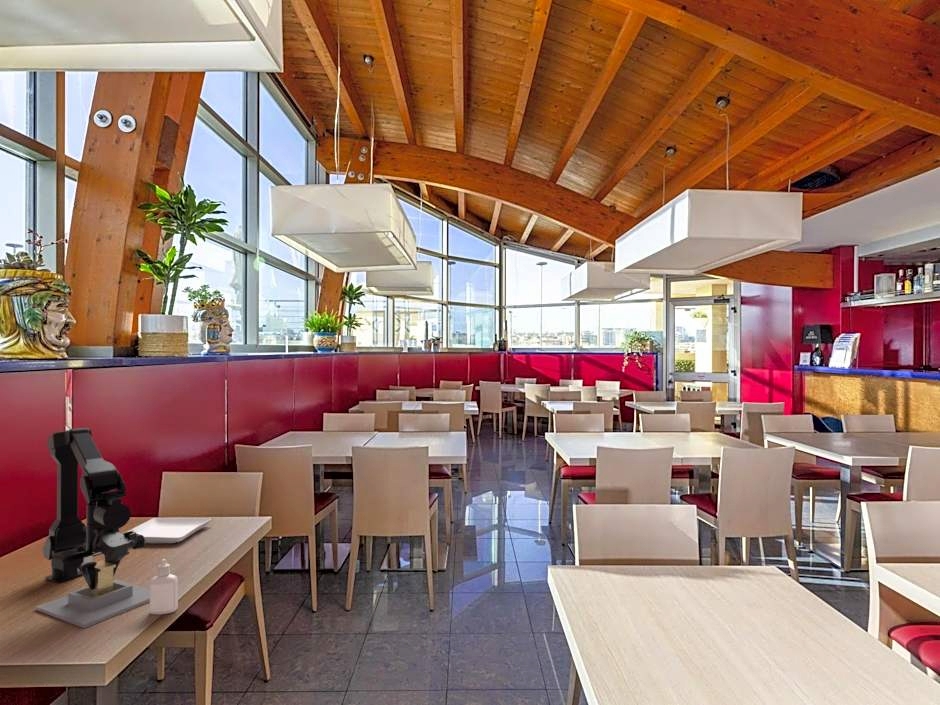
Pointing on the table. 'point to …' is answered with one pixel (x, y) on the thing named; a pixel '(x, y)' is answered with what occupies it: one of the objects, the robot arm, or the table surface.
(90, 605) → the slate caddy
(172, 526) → the salad plate
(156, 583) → the eye dropper bottle
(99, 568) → the wooden lipped block
